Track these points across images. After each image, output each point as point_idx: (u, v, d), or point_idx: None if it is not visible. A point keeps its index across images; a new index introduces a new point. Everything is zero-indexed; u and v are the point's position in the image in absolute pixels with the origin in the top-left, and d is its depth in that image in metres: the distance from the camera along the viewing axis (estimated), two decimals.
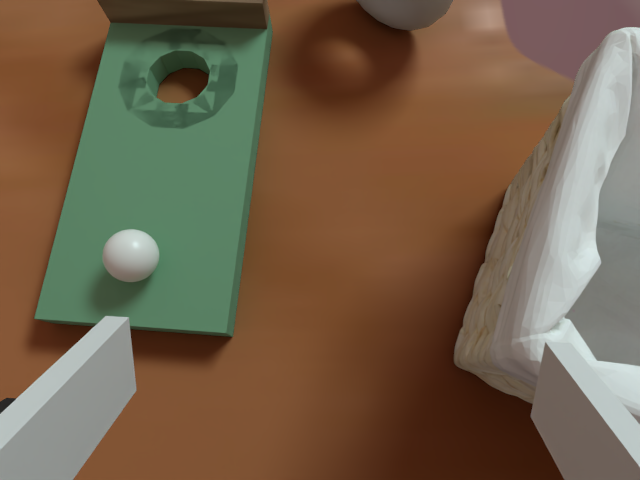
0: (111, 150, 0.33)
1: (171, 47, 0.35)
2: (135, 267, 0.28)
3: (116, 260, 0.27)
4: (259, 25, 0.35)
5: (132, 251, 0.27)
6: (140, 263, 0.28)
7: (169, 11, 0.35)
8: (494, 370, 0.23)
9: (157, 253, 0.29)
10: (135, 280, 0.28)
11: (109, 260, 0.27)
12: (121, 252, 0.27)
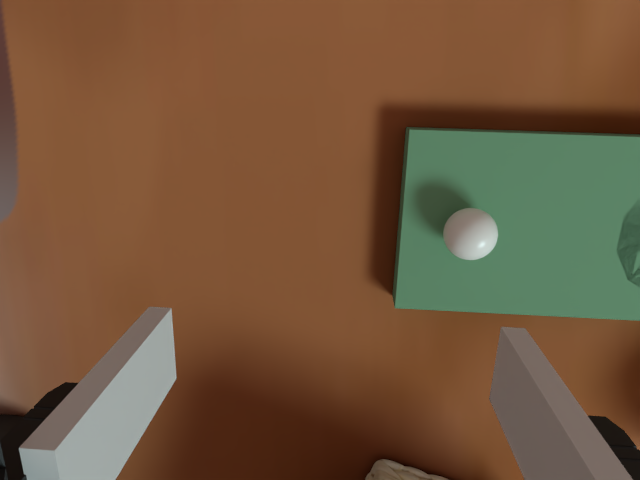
0: (599, 174, 0.29)
1: None
2: (456, 251, 0.29)
3: (464, 238, 0.28)
4: None
5: (472, 252, 0.28)
6: (460, 255, 0.29)
7: None
8: None
9: None
10: (444, 240, 0.30)
11: (464, 230, 0.28)
12: (471, 243, 0.28)
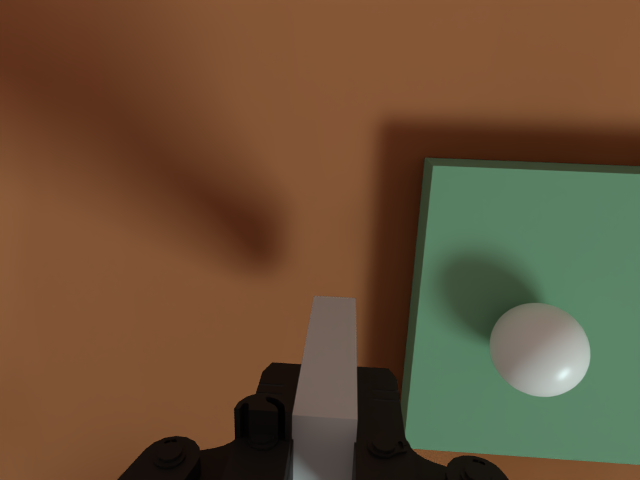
0: None
1: None
2: (516, 383, 0.16)
3: (532, 366, 0.15)
4: None
5: (547, 389, 0.16)
6: (522, 390, 0.16)
7: None
8: None
9: None
10: (492, 358, 0.17)
11: (534, 352, 0.15)
12: (547, 376, 0.15)
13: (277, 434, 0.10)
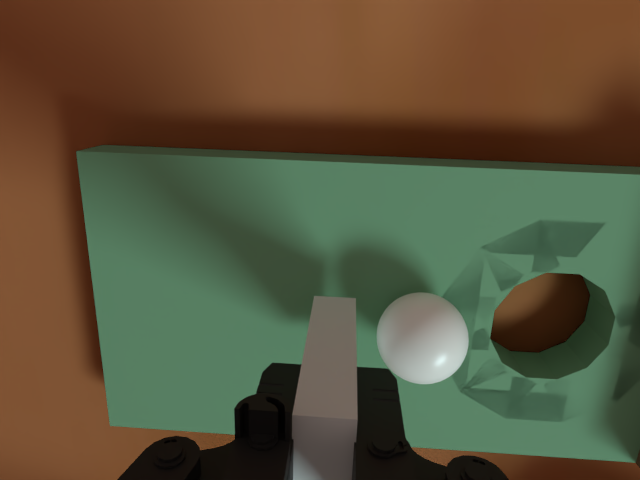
0: (395, 228, 0.18)
1: (623, 309, 0.18)
2: None
3: (380, 337, 0.17)
4: None
5: (390, 366, 0.16)
6: None
7: None
8: None
9: None
10: None
11: (383, 325, 0.17)
12: (386, 351, 0.16)
13: (277, 434, 0.10)
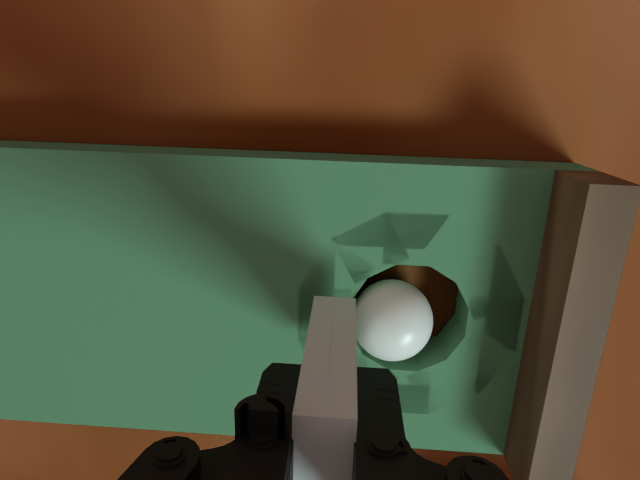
0: (245, 221, 0.18)
1: (476, 301, 0.18)
2: None
3: None
4: (507, 449, 0.20)
5: None
6: None
7: (544, 320, 0.17)
8: None
9: None
10: (423, 346, 0.18)
11: None
12: None
13: (277, 434, 0.10)
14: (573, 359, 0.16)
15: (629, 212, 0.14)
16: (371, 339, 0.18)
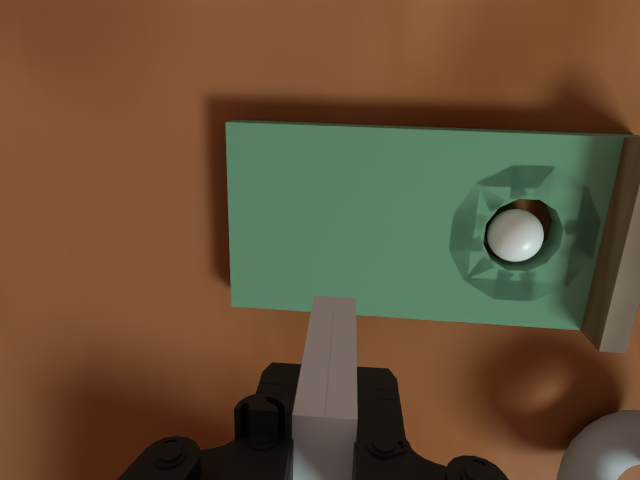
0: (423, 170, 0.28)
1: (568, 223, 0.28)
2: None
3: None
4: (584, 324, 0.30)
5: None
6: None
7: (616, 231, 0.27)
8: None
9: None
10: (539, 248, 0.28)
11: None
12: None
13: (277, 434, 0.10)
14: (635, 252, 0.26)
15: None
16: (510, 243, 0.28)
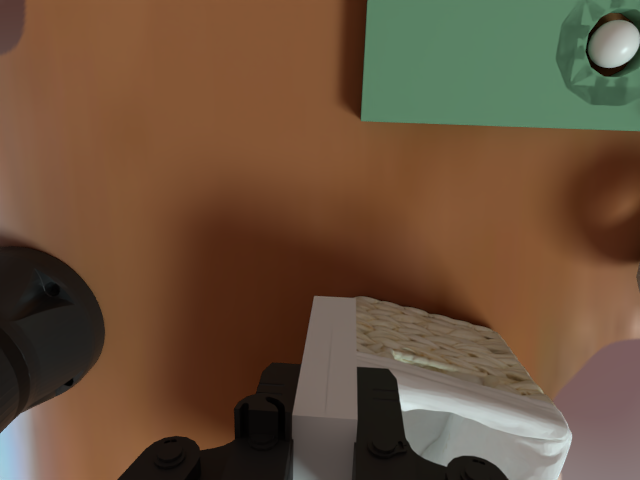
0: None
1: None
2: None
3: None
4: None
5: None
6: None
7: None
8: None
9: (605, 67, 0.35)
10: (636, 51, 0.34)
11: None
12: None
13: (277, 434, 0.10)
14: None
15: None
16: (616, 42, 0.33)
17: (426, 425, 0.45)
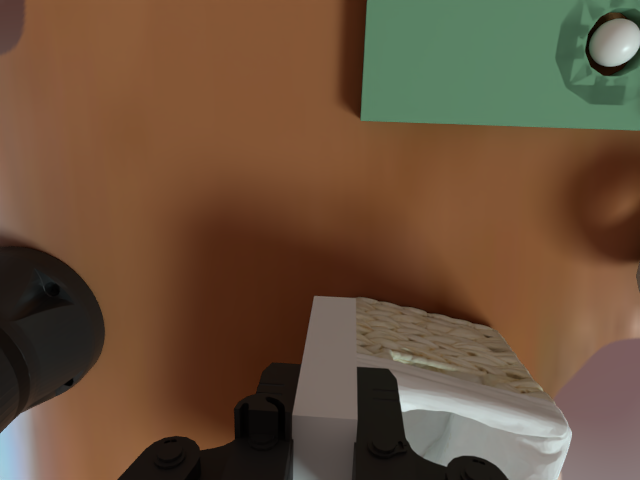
0: None
1: None
2: None
3: None
4: None
5: None
6: None
7: None
8: None
9: None
10: (637, 50, 0.34)
11: None
12: None
13: (277, 434, 0.10)
14: None
15: None
16: (619, 39, 0.33)
17: (428, 425, 0.45)
